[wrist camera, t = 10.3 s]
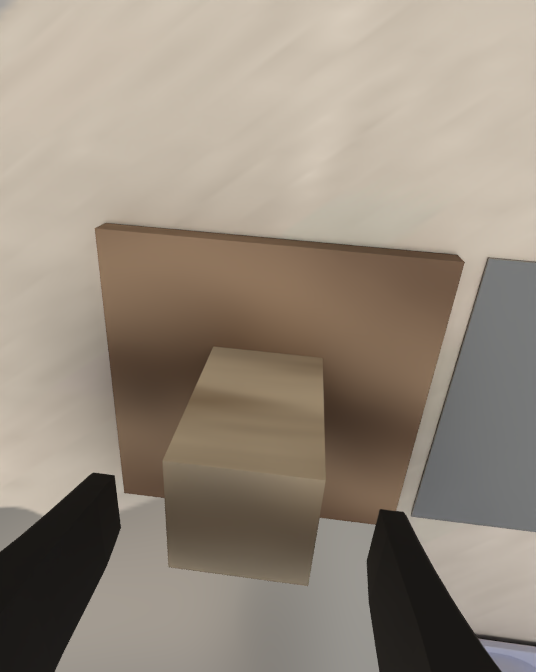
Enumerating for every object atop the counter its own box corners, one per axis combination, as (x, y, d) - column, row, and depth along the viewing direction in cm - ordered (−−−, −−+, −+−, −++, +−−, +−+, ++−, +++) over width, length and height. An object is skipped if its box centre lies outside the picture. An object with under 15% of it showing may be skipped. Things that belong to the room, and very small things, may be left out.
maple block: (310, 444, 18) (308, 586, 12) (212, 432, 18) (168, 566, 13) (322, 357, 16) (325, 480, 11) (213, 346, 16) (162, 460, 11)
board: (388, 512, 20) (391, 526, 19) (131, 479, 21) (124, 493, 20) (457, 254, 15) (464, 262, 14) (105, 223, 15) (94, 228, 15)
